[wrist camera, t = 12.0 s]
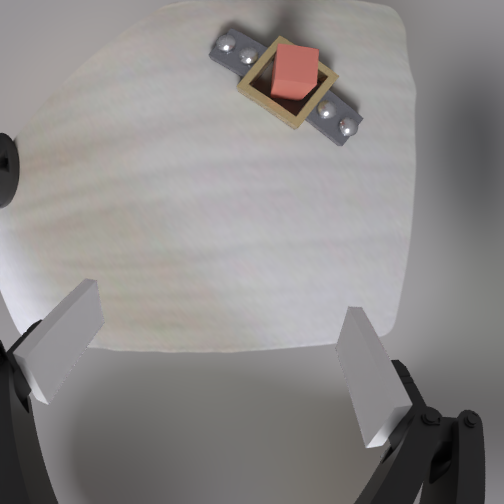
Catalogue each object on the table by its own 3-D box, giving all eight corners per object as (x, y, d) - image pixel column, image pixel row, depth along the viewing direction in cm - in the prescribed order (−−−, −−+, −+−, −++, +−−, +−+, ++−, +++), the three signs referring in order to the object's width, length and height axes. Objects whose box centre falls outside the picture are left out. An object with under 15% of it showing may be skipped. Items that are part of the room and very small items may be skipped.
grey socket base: (201, 69, 32) (195, 62, 29) (240, 22, 29) (238, 12, 26) (330, 157, 36) (337, 159, 33) (367, 110, 33) (376, 107, 30)
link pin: (269, 97, 33) (274, 78, 23) (272, 70, 32) (277, 43, 22) (300, 101, 33) (316, 84, 23) (302, 74, 32) (318, 49, 22)
